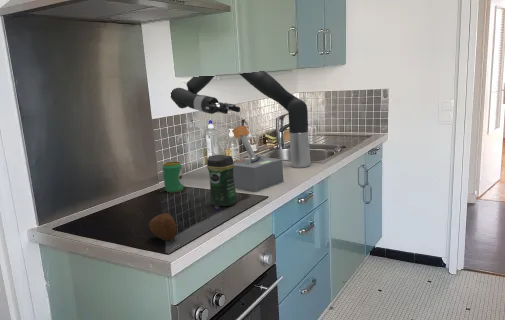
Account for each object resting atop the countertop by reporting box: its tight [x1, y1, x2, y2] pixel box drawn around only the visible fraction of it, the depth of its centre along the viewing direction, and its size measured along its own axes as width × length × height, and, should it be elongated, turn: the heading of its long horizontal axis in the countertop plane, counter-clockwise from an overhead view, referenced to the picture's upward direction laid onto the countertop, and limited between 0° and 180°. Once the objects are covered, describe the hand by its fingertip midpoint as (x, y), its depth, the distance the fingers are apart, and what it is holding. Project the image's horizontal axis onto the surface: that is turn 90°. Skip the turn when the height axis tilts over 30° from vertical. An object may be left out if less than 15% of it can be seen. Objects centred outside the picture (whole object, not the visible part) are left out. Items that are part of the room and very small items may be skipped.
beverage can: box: [162, 161, 184, 194], centre depth 182 cm, size 8×8×12 cm
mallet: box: [231, 125, 260, 163], centre depth 182 cm, size 6×3×16 cm
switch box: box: [233, 154, 285, 193], centre depth 182 cm, size 18×16×12 cm
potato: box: [148, 212, 178, 242], centre depth 126 cm, size 7×10×8 cm
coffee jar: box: [206, 154, 238, 207], centre depth 156 cm, size 10×8×19 cm
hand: (233, 110), depth 184 cm, fingers open, 8 cm apart
